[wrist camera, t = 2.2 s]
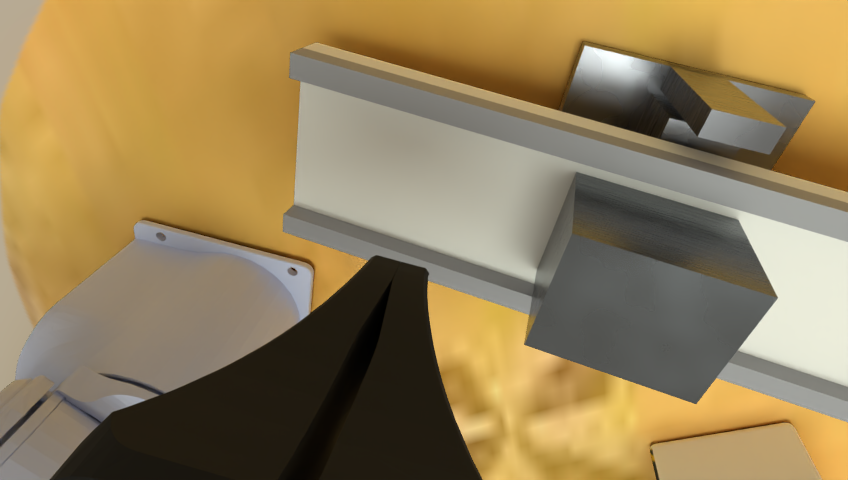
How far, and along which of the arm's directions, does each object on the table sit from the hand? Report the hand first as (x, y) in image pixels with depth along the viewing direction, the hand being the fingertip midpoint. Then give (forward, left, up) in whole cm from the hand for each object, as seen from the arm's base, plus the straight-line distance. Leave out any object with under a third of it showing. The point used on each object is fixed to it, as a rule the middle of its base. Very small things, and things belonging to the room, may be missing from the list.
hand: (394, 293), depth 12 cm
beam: (+8, 0, -8) cm, 12 cm away
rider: (+7, 0, -6) cm, 9 cm away
